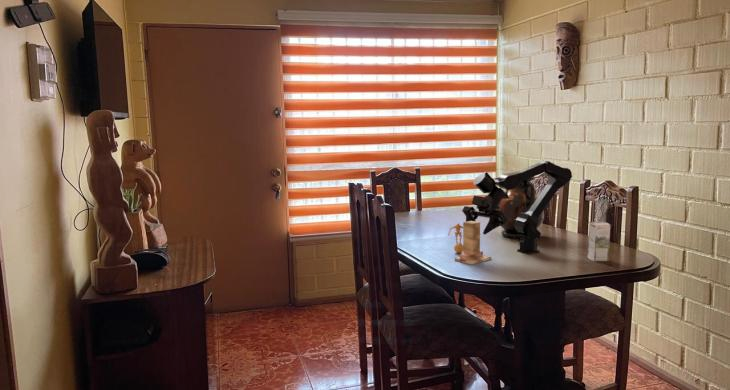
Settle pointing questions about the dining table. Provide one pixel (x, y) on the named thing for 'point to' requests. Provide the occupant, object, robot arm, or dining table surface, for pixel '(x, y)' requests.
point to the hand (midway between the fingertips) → (474, 232)
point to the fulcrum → (472, 258)
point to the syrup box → (598, 241)
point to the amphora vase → (518, 206)
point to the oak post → (471, 237)
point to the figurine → (458, 246)
